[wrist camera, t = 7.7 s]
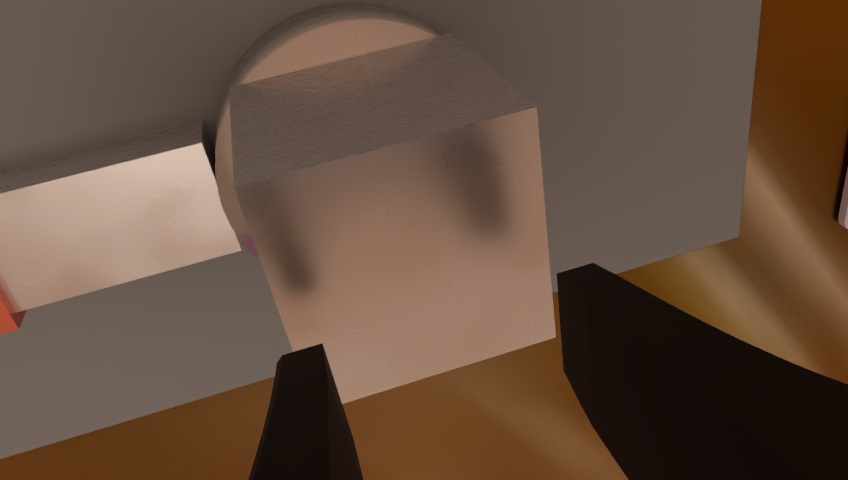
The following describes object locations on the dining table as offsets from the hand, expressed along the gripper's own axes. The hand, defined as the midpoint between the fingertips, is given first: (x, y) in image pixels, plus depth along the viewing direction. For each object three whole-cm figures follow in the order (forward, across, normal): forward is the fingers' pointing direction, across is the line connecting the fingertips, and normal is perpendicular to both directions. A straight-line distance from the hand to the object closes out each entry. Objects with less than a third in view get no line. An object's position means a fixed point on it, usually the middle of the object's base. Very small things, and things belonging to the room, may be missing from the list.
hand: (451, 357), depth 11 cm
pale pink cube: (+7, 0, 0) cm, 7 cm away
